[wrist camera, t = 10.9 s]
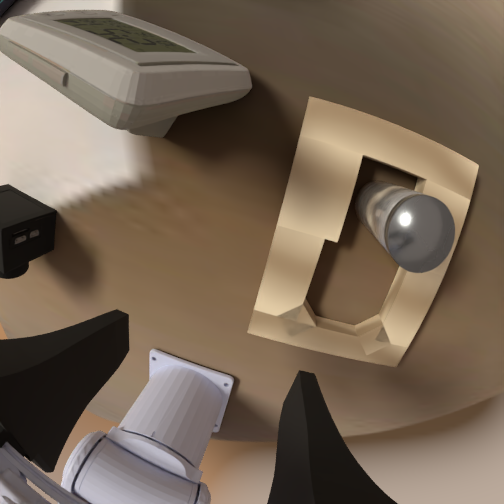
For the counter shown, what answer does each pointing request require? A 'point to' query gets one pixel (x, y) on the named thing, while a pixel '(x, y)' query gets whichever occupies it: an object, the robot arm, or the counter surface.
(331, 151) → the keyhole board
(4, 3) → the portable speaker
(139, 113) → the digital clock
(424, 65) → the counter surface
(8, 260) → the digital camera
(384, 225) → the peg
